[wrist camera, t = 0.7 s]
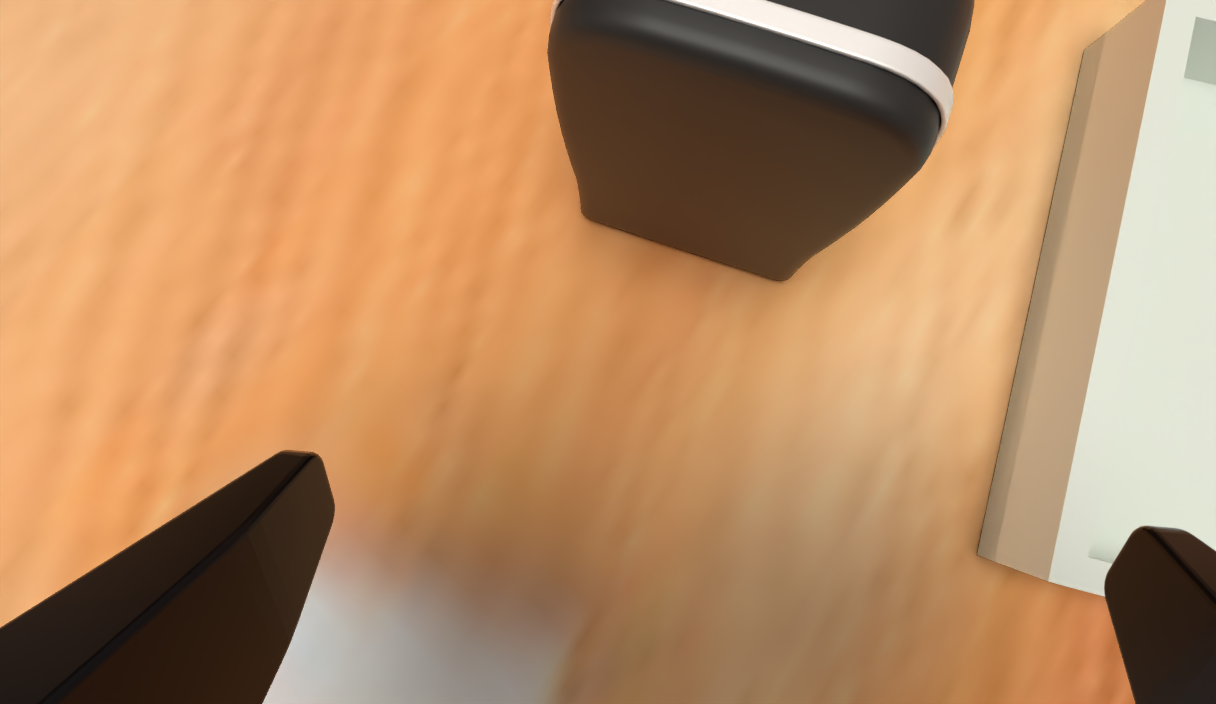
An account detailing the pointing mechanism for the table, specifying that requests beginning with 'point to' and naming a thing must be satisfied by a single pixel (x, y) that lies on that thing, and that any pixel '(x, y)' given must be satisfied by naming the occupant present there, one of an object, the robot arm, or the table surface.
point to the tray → (1120, 314)
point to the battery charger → (750, 116)
